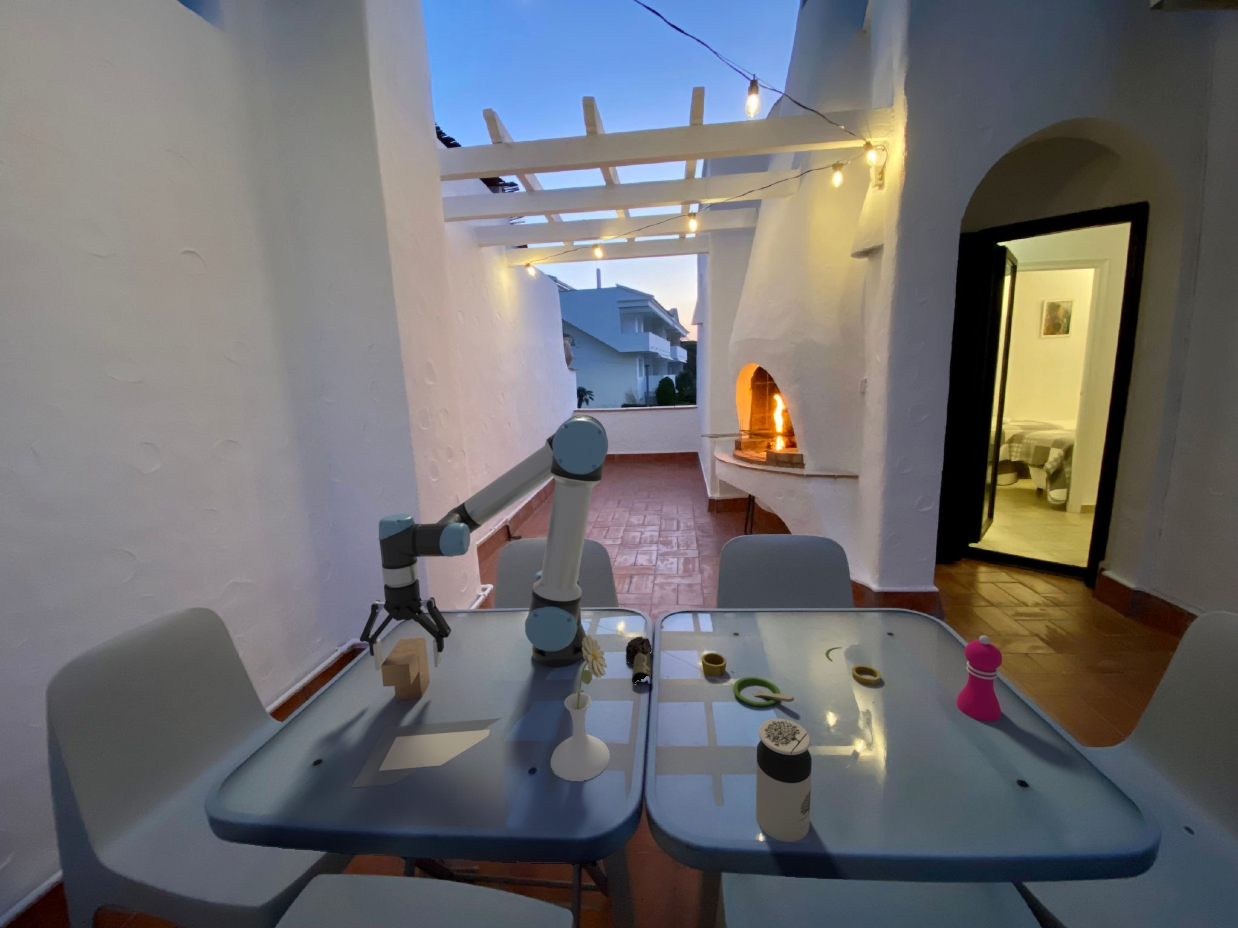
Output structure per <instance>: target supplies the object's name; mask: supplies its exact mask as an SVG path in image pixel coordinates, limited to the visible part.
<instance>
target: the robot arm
mask: <svg viewBox="0 0 1238 928" xmlns="http://www.w3.org/2000/svg"><path fill="white" fill-rule="evenodd" d="M608 449H609V441H608V437H607V433H606V430H605V427H604V425H603V424H602V423H601V422H600V420H598V419H597V418H596V417H593V416H591V415H588V414H577V415H574V416H572V417H570V418H568V419H566V421H564V422H563V423H561V425H559V426H558V429H557V430H556V431H555V432H554V433H553V434H552V435H551V436H549V437H547V438H546V439H545V443H544V445H543V446H542V447H540V448H538V450H536V451H534V452H533V453H532V454H530V455H529V456H528V457H526V458H525V459H523V460H522V461H520V462H519V463H518V464H515V466H513V467H512V468H510V469H509V470H508V471H506V472H505V473H503V474H502V475H501V476H499V477H497V478H496V479H495V480H493V481H492V482H491V483H489V484H487V485H486V486H485V487H483V488H482V489H481V490H479V491H478V492H476V493H475V494H473V495H471V496H470V497H469V498H467V499H466V500H465V501H463V502H462V503H460V504H459V505H458V506H456V507H453V508H452V509H451V510H450V511H448V512H447V513H446V515H444V516H443V517H442V518H441V519H439V520H438V521H437V522H436V523H415V522H416V521H415V519H414V516H413V515H412V514H410V513H409V514H408V513H395V514H390V515H387V516H384V517H383V518H381V519H380V520H379V522H378V540H379V546H380V547H379V548H380V549H379V550H380V555H381V556H380V557H381V568H382V571H381V572H382V582H383V584H384V585H383V591H384V592H383V593H384V594H383V595H384V599H385V600H384V601H381V600H380V599H376V600H374V602H373V603H372V604H371V605H370V614H369V617H368V620H367V621H366V624H365V625H364V628H363V631H362V633H361V635H360V637H359V642H362V643H364V642H366V643H368V646H369V647H368V648H369V655H370V656H372V657H374V658H373V659H374V667H375V671H380V669H381V665H382V664H383V662H384V654H383V646H382V644H383V643H382V638H378V637H379V636H380V635H381V634H382V632H384V630H385V629H386V627H387V626H388V625H389V623H391V621H392V620H393V619H394V620H396V622H398V621H399V622H400V621H403V620H404V621H411V620H413V621H414V622H415V623H418V624H419V625H420V626H421V627H422V629H423V628H424V630H425V631H426V632H427V633H429V634H430V636H432V637H433V640H432V648H433V649H432V650H433V651H432V652H433V661H434V664H433V665H434V668H439V665H441V662H442V653H443V650H444V648H445V638H448V637H449V636H450V635H451V632H452V629H451V626H450V625H449V624H448V622H447V620H446V619H445V618H444V616H443V615H442V613H441V611H440V610H439V608H438V606H437V603H436V599H435V597H434V596H431V597H429V599H424V600H423V599H422V597H421V589H420V588H421V587H420V580H419V566H418V558H422V557H423V558H426V557H427V558H428V557H431V558H432V557H447V558H452V557H458V556H459V557H460V556H465V555H466V554H467V553H468V551H469V547H470V543H471V534H472V533H473V532H475V531H476V530H478V529H479V528H481V527H482V526H483V525H484V524H486V523H487V522H489V521H490V520H492V519H494V518H495V517H496V516H497V515H499V514H500V513H502V512H503V511H506V509H508V508H509V507H511V506H512V505H514V504H515V503H516V502H518V501H520V500H521V499H522V498H524V497H525V496H527V495H528V494H529V493H531V492H532V491H534V490H535V489H537V488H538V487H541V485H543V484H544V483H546V482H547V481H548V480H550V479H551V478H553V479H554V481H555V483H554V491H553V497H552V503H551V508H550V509H551V511H550V516H549V523H548V529H547V537H546V543H545V549H544V555H543V561H542V566H541V567H542V568H541V570H539V571H537V572H536V573H535V574H534V580H533V584H532V590H531V594H530V595H531V596H530V602H529V609H528V614H527V616H526V619H525V621H524V632H525V635H526V638H527V640H528V641H529V642H530V643H531V644H532V649H531V651H532V652H531V653H532V659H533V661H535V662H536V663H537V664H538V665H541V666H544V667H550V668H564V667H569V666H572V665H576V664H577V663H579V662H580V660H581V659H582V660H584V659H583V658H584V657H583V651H582V647H583V645H582V641H583V638H584V637H585V638H586V636H587V634H586V631H585V629H584V626H583V624H582V614H581V613H582V612H581V602H582V601H581V600H582V594H583V589H582V588H581V587H580V582H581V579H580V575H579V574H580V568H581V563H582V561H581V560H582V555H583V551H584V545H585V537H586V531H587V525H588V520H589V514H590V513H589V512H590V507H591V502H592V496H593V490H594V487H595V486H597V484H599V483H600V482H601V480H602V477H603V470H604V465H605V459H606V457H607V455H608ZM422 607H424V609H425V610H427V612H428V615H429V616H430V617H431V619H430V618H429V616H427V615H426V614H425V611H424V610H422ZM383 609H384V610H385V611H386V612H387V614H388V615H387V617H385V618H384V620H383V621H382V622H381V624H380V625H379V626H378V627H377V629H376V630H375V631H374V633H373V634H371V632H372V630H373V628H374V626H375V624H376V621H377V618H378V616H379V614H380V612H381V611H382V610H383ZM582 660H581V661H582ZM578 661H579V662H578ZM576 662H577V663H576Z"/></svg>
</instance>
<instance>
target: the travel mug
mask: <svg viewBox="0 0 1238 928" xmlns="http://www.w3.org/2000/svg"><path fill="white" fill-rule="evenodd" d="M758 736H759V739H760V740H759V742H758V743H757V747H756V775H755V776H756V780H755V781H756V782H755V783H756V785H755V788H756V791H755V793H756V794H755V819H756V822H757V824H758V826H759V827H760V829H761V830H762V831H763V832H764V833H765V834H767V836H770V838H772V839H774V840H778V841H781V842H785V843H793V842H798V841H800V840H802V839H804V838H805V837H806V836H807V835H808V833H809V831H810V823H811V822H810V820H811V792H812V789H811V788H812V787H811V786H812V763H813V762H812V761H813V760H812V756H811V755H812V754H811V753H810V751H809V748H810V746H811V737H810V734H809V733H808V731H807V730H806V729H805V728H804V727H803V726H801V725H800V724H799V723H796V722H795V721H793V720H790V719H785V718H771V719H768V720H765V721H764V722H762V723H761V724H760V726H759V728H758Z"/></svg>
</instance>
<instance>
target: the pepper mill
mask: <svg viewBox="0 0 1238 928" xmlns="http://www.w3.org/2000/svg"><path fill="white" fill-rule="evenodd" d="M1002 655H1003V654H1002V653H1001V651H1000V649H999V648H998V647H997V646H995V645H994V644H993V643H991V639H990V637H988V636H987V635H983V634H982V635H981V636H979V637H978V640H973V641H971V642H969V643H968V644H967V645H966V646H965V649H964V657H965V658H966V660H967V662H966V671H967V672H968V677H967V682H966V684H965V686H964V687H963V688H962V689H961V690H960V692H959V694H958V696H957V698H956V699H957V700H956V707H957V708H958V710H959V711H960V712H961V713H963V714H964V715H966V716H968V717H969V718H972V719H976V720H980V721H984V722H995V721H998V720H1000V719H1001V717H1002V713H1001V712H1002V711H1001V705H1000V702H999V700H998V698H997V696H996V692H995V688H994V687H995V686H994V682H995V679H996V678H998V672H999V670H998V668H999V667H1000V666H1001V665H1002V664H1003V656H1002Z"/></svg>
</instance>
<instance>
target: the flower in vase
mask: <svg viewBox="0 0 1238 928" xmlns="http://www.w3.org/2000/svg"><path fill="white" fill-rule="evenodd" d="M598 642H599V641H598V640H597V639H594V638H592V636H591V635H590V634H589V635H586V638H585V637H584V638H583V641H582V645H583V647H582V651H583V657H584V659H583V660H584V664H583V667H582V670H581V673H580V676H579V677H580V678H579V683H578V685H579V686H578V690H575V691H572V692H571V693H569V694H570V695H569V696H567V697H566V698H565V699H564V706H565V708H566V709H567V710H568V711H569V714H570V716H571V719H572V736H570V737H567V738H566V739H564V740H562V742H561V743H559V745H557V746H556V747H555V749H554V750H553V752H552V755H551V757H550V768H552V769H551V771H552V770H553V771H554V772H555V773H554V772H553V771H552V772H553V773H554V774H555V776H557V775H558V776H559V777H561V778H564V779H567V780H571V781H570V782H573V781H578V782H585V781H588V780H591V779H593V778H596V777H597V776H599V775H600V774H601V772H602V771H603V772H604V771H605V770H606V769H607V767H608V766H607V765H609V764H608V763H610V761H609V759H610V760H611V753H609V752H610V751H609V748H608V745H606V744H605V743H604V742H603V741H602V740H601V739H599V738H597V737H595V736H593V735H590V734H587V732H586V715H587V710H588V708H589V707H590V706H591V704H592V697H591V696H589V695H588V694H587V693H583V692H584V691H585V690H582V689H581V688H582V683H584V684H585V685H590V683H591V682H592V679H593V676H594V677H595V678H596V679H598V678H599V679H601V678H602V677H604V676H605V675H606V671H605V668H607V667H608V664H607V662H606V658H605V657H604V655H605V652H604V650H603V649H601V645H600V644H598ZM586 666H587V669H586ZM606 766H607V767H606ZM604 769H605V770H604ZM603 772H602V773H603ZM558 776H557V777H558ZM559 777H558V778H559ZM561 778H560V779H561ZM564 779H563V780H564ZM567 780H566V781H567ZM584 780H585V781H584Z"/></svg>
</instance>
